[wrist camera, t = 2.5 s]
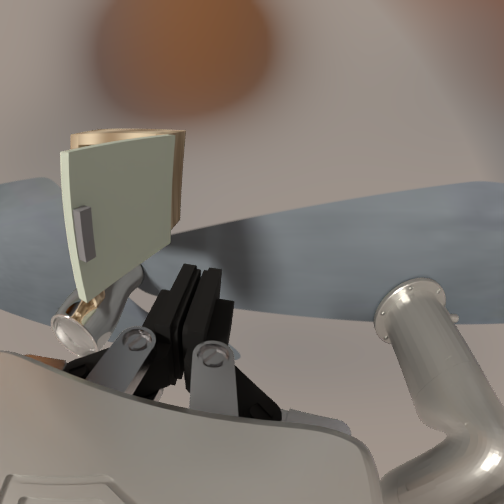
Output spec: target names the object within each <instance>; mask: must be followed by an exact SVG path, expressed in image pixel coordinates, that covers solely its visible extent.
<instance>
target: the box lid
mask: <svg viewBox="0 0 504 504" xmlns="http://www.w3.org/2000/svg"><path fill="white" fill-rule="evenodd" d="M174 147H175V135H168V134H166V135H156V136H148V137H140V138H132V139H126V140H119V141H113V142H107V143H101V144H96V145H90V146H85V147H80V148H76V149H71V150H67V151H62V152H60V163H61V185H62V198H63V209H64V218H65V226H66V233H67V240H68V246H69V252H70V258H71V263H72V268H73V273H74V278H75V282H76V287H77V291H78V295H79V298H80V299H81V300H83V301H85V302H87V303H88V302H89V301H91V300H92V299H93V298H94V297H96V296H97V295H98V294H100V293H101V292H102V291H104V290H105V289H106V288H108V287H109V286H110V285H112V284H113V283H115V282H116V281H117V280H119V279H120V278H121V277H123V276H124V275H126V274H127V273H128V272H130V271H131V270H132V269H134V268H135V267H137V266H138V265H139V264H141V263H142V262H144V261H145V260H147V259H148V258H149V257H151V256H152V255H154V254H155V253H157V252H158V251H159V250H161V249H162V248H164V247H165V246H167V245H168V244H170V243H171V200H172V178H173V161H174Z"/></svg>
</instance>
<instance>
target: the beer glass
mask: <svg viewBox="0 0 504 504" xmlns="http://www.w3.org/2000/svg"><path fill="white" fill-rule="evenodd" d="M143 277H144V274H143V269H142V267H141V265H140V264H139V265H138V266H137V267H135V268H134V269H132V270H131V271H130V272H128V273H127V274H126V275H124V276H123V277H121V278H120V279H119V280H117V281H116V282H115V283H113V284H112V285H110V286H109V287H108V288H106V289H105V290H104V291H102V292H101V293H100V294H98V295H97V296H96V297H94V298H93V299H92V300H91V301H89V302H88V303H87V302H85V301H83V300H81V299H80V298H79V295H78V291H77V288H76V289H75V290H74V291H73V292H72V293H71V294H70V295H69V296H68V297H67V299H66V300H65V301H64V302H63V304H62V305H61V306H60V308H59V309H58V311H57V312H56V314H55V315H54V316H53V317H52V319H51V328H52V331H53V333H54V335H55V336H56V338H57V339H58V341H59V342H60V343H61V344H62V345H63V346H64V347H65V348H66V349H67V350H68V351H70V352H71V353H72V354H74V355H76V356H78V357H80V358H81V357H84V356H87V355H90V354H93V353H95V352H98V351H100V349H101V348H102V347H103V346H104V345H105V343H106V342H107V341H108V339H109V338H110V336H111V335H112V333H113V331H114V330H115V328H116V326H117V324H118V322H119V320H120V317H121V315H122V312H123V310H124V307H125V304H126V302H127V299H128V297H129V295H130V294H131V292H132V291H134V290H135V289H136V288H137V287H138V286H140V284H141V283H142V281H143Z"/></svg>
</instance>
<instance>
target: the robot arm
mask: <svg viewBox="0 0 504 504" xmlns="http://www.w3.org/2000/svg"><path fill="white" fill-rule="evenodd" d="M221 275H222V269H216V268H209V269H208V271H207V270H204V271H203V274H202V276H201V270H200V269H197V266H196V265H189V264H184V265H183V266H182V268H181V270H180V272H179V274H178V276H177V278H176V280H175V282H174V284H173V286H172V288H171V290H170V291H169V290H161V292H160V293H159V295H158V297H157V299H156V301H155V303H154V305H153V306H152V308H151V310H150V312H149V314H148V316H147V318H146V320H145V322H144V324H143V326H142V327H141V326H134V327H130V328H127V329H125V330H124V331H123V332H122V333H121V334H120V335H119V336H118V337H117V339H116V340H115V341H114V342H113V344H112V345H111V346H110V348H107V349H104V350H101V351H98V352H95V353H93V354H90V355H87V356H84V357H81V358H78V359H75V360H73V361H71V362H69V363H66V360H60V359H54V358H48V357H42V356H36V355H31V354H26V355H21V354H18V353H14V352H9V351H0V504H504V406H503V405H502V403H501V402H500V400H499V399H498V397H497V395H496V393H495V392H494V390H493V388H492V387H491V385H490V383H489V381H488V380H487V378H486V376H485V374H484V373H483V371H482V369H481V367H480V365H479V364H478V362H477V360H476V359H475V357H474V355H473V353H472V352H471V350H470V348H469V347H468V345H467V343H466V342H465V340H464V338H463V337H462V335H461V334H460V332H459V330H458V329H457V327H456V326H455V324H454V323H456V322H457V321H458V318H459V317H458V315H457V314H450V313H449V312H448V310H447V309H446V308H445V304H446V297H445V293H444V291H443V289H442V287H441V286H440V285H439V284H438V283H437V282H436V281H434V280H432V279H430V278H415V279H411V280H408V281H406V282H403V283H402V284H400V285H398V286H397V287H395V288H394V289H393V290H391V291H390V292H389V293H388V294H387V295H386V296H385V297H384V298H383V300H382V301H381V303H380V304H379V306H378V308H377V310H376V313H375V316H374V327H375V330H376V333H377V335H378V336H379V338H380V339H381V340H382V341H384V342H386V343H388V344H392V346H393V349H394V351H395V354H396V356H397V359H398V361H399V364H400V367H401V369H402V372H403V375H404V378H405V380H406V383H407V386H408V388H409V392H410V395H411V397H412V400H413V403H414V406H415V409H416V412H417V415H418V417H419V419H420V420H421V421H422V422H423V423H424V424H425V425H426V426H428V427H430V428H432V429H435V430H438V431H442V432H444V433H446V435H447V437H446V439H445V440H444V441H442V442H441V443H439V444H438V445H436V446H435V447H434V448H432V449H430V450H428V451H427V452H425V453H423V454H421V455H419V456H417V457H415V458H414V459H412V460H410V461H408V462H406V463H404V464H402V465H400V466H398V467H396V468H395V469H392V470H391V471H389V472H388V473H387V474H385V475H384V477H382V479H381V480H379V475H378V471H377V468H376V464H375V462H374V459H373V456H372V454H371V452H370V450H369V449H368V448H367V446H366V445H365V444H364V443H363V442H361V441H360V440H358V439H356V438H354V437H352V436H351V430H350V428H349V427H348V425H347V424H345V423H344V422H343V421H340V420H338V419H332V418H328V417H323V416H318V415H314V414H309V413H305V412H301V411H297V410H293V409H290V410H289V411H287V410H283V409H280V408H279V407H278V405H277V404H276V403H275V402H273V400H272V399H270V398H269V397H268V396H267V395H266V394H265V393H264V392H263V391H262V390H260V389H259V388H258V387H257V386H256V385H255V384H254V383H253V382H252V381H251V380H250V379H249V378H247V376H246V375H245V374H243V373H242V372H241V371H240V370H239V369H238V368H237V367H236V366H235V361H234V354H233V351H232V350H231V348H230V347H229V346H228V343H229V336H230V331H231V324H232V317H233V309H234V301H230V300H223V299H219V298H220V286H221ZM183 373H184V377H185V383H186V389H187V390H188V392H189V393H190V405H189V409H188V408H183V407H178V406H174V405H169V404H165V403H161V402H159V400H160V398H161V396H162V394H163V388H165V387H167V386H169V385H175V384H176V381H177V379H182V376H183Z"/></svg>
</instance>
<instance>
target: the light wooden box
mask: <svg viewBox="0 0 504 504" xmlns="http://www.w3.org/2000/svg"><path fill="white" fill-rule="evenodd" d="M166 134H168V135H175V147H174V161H173V178H172V200H171V230H172V229H173V227H174V226H175V225H176V224H177V223H178V221H179V220H180V206H181V187H182V171H183V158H184V146H185V134H186V131H182V130H162V129H98V130H92V131H87V132H82V133H77V134H72V135H71V149H76V148H80V147H85V146H90V145H96V144H101V143H107V142H113V141H119V140H126V139H132V138H140V137H148V136H156V135H166Z"/></svg>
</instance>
